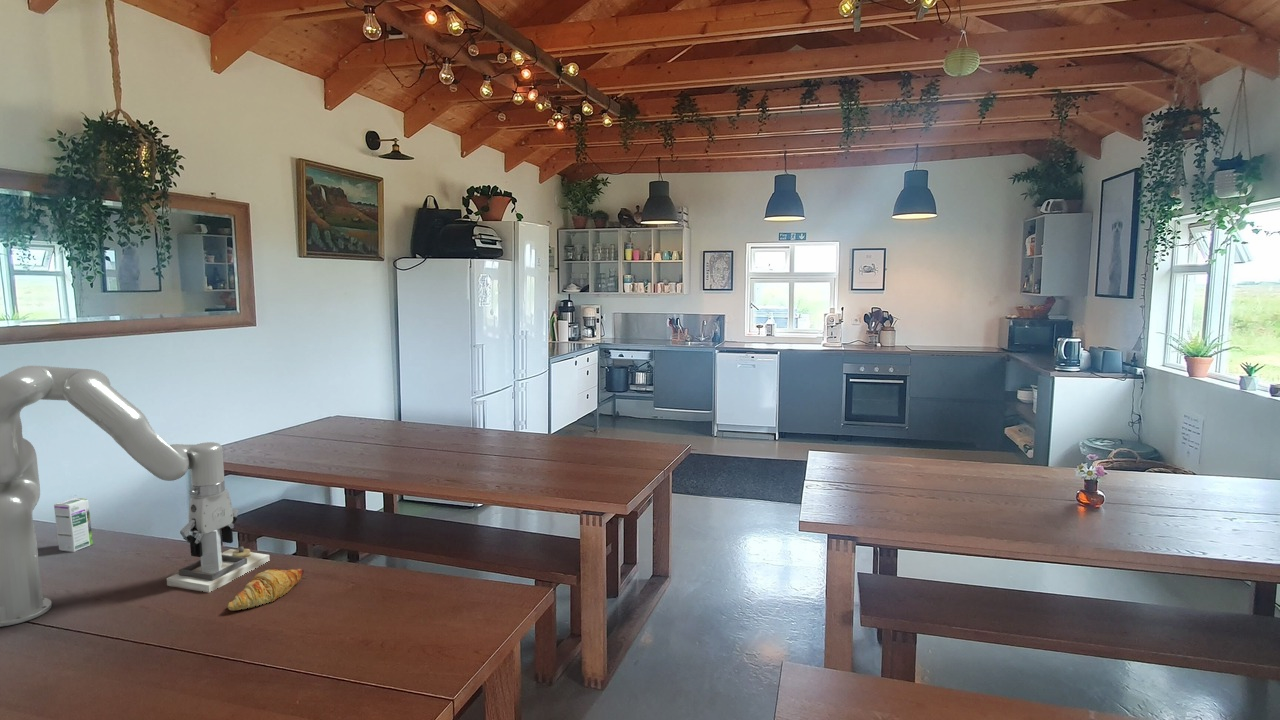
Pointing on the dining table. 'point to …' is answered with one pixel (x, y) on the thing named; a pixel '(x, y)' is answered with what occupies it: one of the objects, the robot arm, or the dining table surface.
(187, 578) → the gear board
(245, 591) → the croissant
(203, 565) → the skincare box
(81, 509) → the syrup box
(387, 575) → the dining table surface
